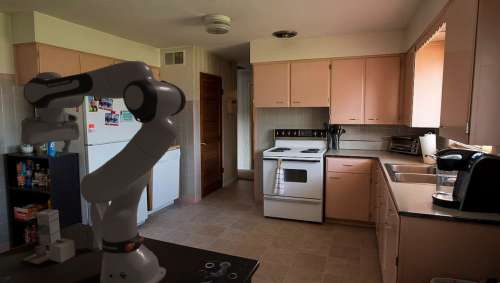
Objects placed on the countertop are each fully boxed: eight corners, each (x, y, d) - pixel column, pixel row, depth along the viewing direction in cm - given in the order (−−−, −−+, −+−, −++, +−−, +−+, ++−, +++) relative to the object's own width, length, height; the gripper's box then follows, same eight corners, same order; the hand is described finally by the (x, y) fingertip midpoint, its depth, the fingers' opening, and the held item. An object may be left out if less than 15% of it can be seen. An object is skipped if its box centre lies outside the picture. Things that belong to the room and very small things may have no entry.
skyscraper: (103, 240, 132) (100, 179, 129) (116, 244, 128) (113, 181, 126) (86, 248, 124) (82, 184, 122) (98, 252, 121) (95, 186, 118)
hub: (58, 254, 119) (57, 243, 118) (37, 264, 111) (36, 251, 111) (44, 251, 122) (43, 240, 121) (23, 260, 114) (22, 248, 114)
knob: (75, 255, 118) (74, 239, 117) (61, 262, 113) (59, 245, 112) (64, 252, 120) (63, 236, 120) (50, 259, 115) (48, 243, 114)
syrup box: (61, 240, 132) (58, 209, 130) (51, 246, 126) (48, 213, 124) (49, 240, 132) (46, 208, 131) (38, 246, 126) (36, 213, 125)
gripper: (27, 117, 99) (30, 158, 100) (81, 116, 118) (83, 150, 120) (15, 117, 101) (18, 157, 103) (69, 116, 120) (72, 150, 122)
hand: (53, 153), depth 111 cm, fingers open, 8 cm apart
